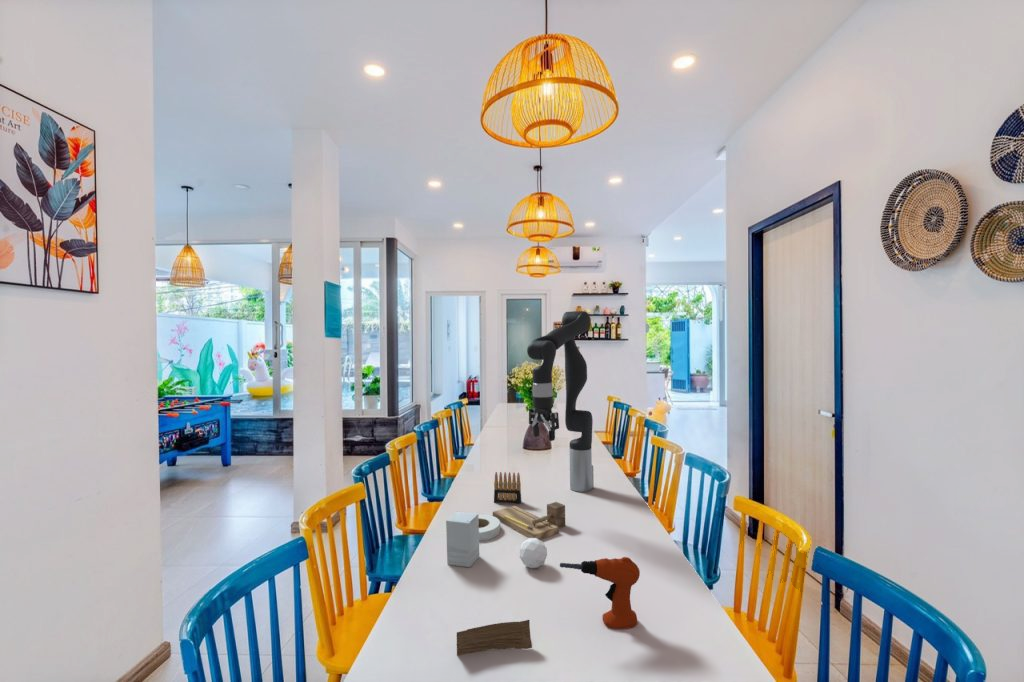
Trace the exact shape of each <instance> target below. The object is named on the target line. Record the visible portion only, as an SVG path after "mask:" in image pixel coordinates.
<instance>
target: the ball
mask: <svg viewBox="0 0 1024 682" xmlns="http://www.w3.org/2000/svg"><path fill="white" fill-rule="evenodd" d="M547 557H548V549H547V546H546V545H545V544H544V542H543V541H542V540H541V539H537V538H527V539H526V540H524V541H523V542H522V543H521V546H520V548H519V558H520V561H521V562H522V563H523V565H524V566H526V567H528V568H530V569H538V568H539V567H541V566H543V565H544V564H545V563H546V559H547Z"/></svg>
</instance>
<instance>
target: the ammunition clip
mask: <svg viewBox="0 0 1024 682" xmlns="http://www.w3.org/2000/svg"><path fill="white" fill-rule="evenodd" d="M507 476H508V477H507ZM521 483H522V482H521V474H520V473H519V472H517V474H516V473H515V472H512V475H511V471H509V472H508V475H507V472H506V471H504V474H503V473H502V472H501V471H500V472H499V475H498V472H497V471H495V473H494V482H493V485H494V486H493V487H494V489H493V490H494V491H493V504H519V505H521V503H522V491H521V490H522V487H521V486H522V485H521Z"/></svg>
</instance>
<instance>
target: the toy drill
mask: <svg viewBox="0 0 1024 682" xmlns="http://www.w3.org/2000/svg"><path fill="white" fill-rule="evenodd" d="M559 567H560V568H562V569H563V568H566V569H573V570H574V569H575V570H580V572H582V573H583V574H589V575H593V576H595V578H596V577H598V578H599V579H601V580H604V581H607V582H610V583H612V584H610V586H609V589H608V590H607V592H606V593H605V594H604V595H605V597H606V598H607V599H608V600H610V601H611V608H610V610H608V611H607V612H604V613H603V614H602V621H603V624H604V625H605V627H606V628H609V629H612V630H624V629H630V628H634V627H636V626H638V617H637V613H636V611H635V610H634V609H632V604H631V592H632V587H633V586H634V585H636V584H637V582H638V581H639V578H640V576H641V575H640V573H641V572H640V568H639V566H638V565H637V564H636V562H634V561H633V560H632V559H631V558H630V557H627V556H626V557H625V556H623V557H620V558H616V557H615V558H611V559H609V558H606V557H605V558H600V559H595V560H589V561H587V560H584V561H582V562H581V563H569V562H560V563H559Z"/></svg>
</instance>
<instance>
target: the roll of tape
mask: <svg viewBox="0 0 1024 682" xmlns="http://www.w3.org/2000/svg"><path fill="white" fill-rule="evenodd" d="M477 514H478V518H479V526H481V527H479V541H485V540H489V539H492V538H495V537H496V536H498V534H500V532H501V522H500V521H499V519H498V518H496V517H494V516H493V515H490V514H480V513H477Z"/></svg>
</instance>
